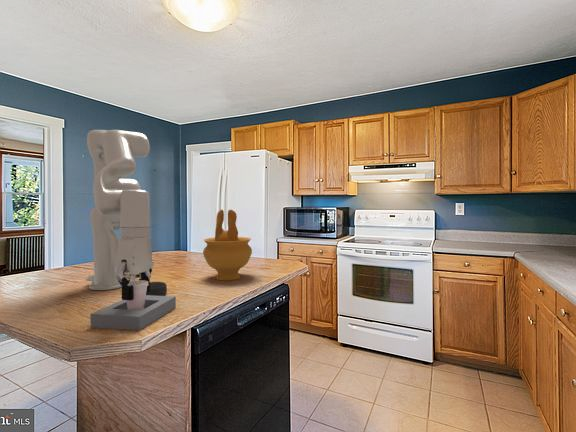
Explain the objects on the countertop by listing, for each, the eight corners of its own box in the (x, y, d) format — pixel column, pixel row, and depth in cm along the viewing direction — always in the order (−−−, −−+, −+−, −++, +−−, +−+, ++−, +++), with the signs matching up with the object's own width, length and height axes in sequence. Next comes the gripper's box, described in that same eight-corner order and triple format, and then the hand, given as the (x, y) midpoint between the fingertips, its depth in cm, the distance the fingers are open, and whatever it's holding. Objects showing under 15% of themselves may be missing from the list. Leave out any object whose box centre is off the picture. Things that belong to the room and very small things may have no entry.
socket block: (90, 327, 82) (90, 313, 82) (134, 305, 100) (134, 294, 100) (139, 330, 80) (139, 316, 80) (175, 307, 98) (175, 296, 98)
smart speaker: (164, 290, 118) (164, 280, 118) (168, 296, 110) (168, 285, 110) (138, 294, 113) (137, 283, 113) (141, 300, 106) (140, 288, 106)
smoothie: (128, 313, 92) (129, 265, 93) (151, 312, 93) (151, 265, 93) (119, 320, 86) (119, 269, 86) (143, 319, 87) (143, 268, 87)
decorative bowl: (258, 273, 147) (258, 209, 146) (241, 284, 126) (241, 209, 125) (216, 271, 151) (216, 209, 150) (194, 281, 131) (193, 209, 130)
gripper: (142, 230, 98) (142, 287, 99) (100, 236, 81) (102, 304, 82) (164, 231, 97) (165, 288, 98) (127, 236, 80) (128, 306, 81)
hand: (136, 295), depth 90 cm, fingers open, 6 cm apart
